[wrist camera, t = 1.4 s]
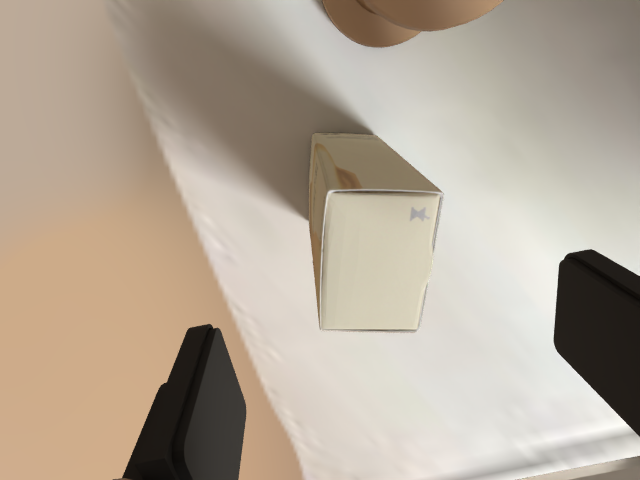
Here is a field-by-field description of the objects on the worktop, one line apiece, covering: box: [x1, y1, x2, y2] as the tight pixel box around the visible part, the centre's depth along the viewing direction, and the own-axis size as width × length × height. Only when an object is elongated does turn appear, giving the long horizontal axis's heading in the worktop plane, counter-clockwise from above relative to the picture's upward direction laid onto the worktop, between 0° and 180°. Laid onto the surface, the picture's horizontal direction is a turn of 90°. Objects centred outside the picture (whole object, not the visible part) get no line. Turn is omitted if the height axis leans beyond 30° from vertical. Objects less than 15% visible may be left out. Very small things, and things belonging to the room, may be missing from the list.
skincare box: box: [309, 133, 444, 333], centre depth 20 cm, size 6×4×12 cm
